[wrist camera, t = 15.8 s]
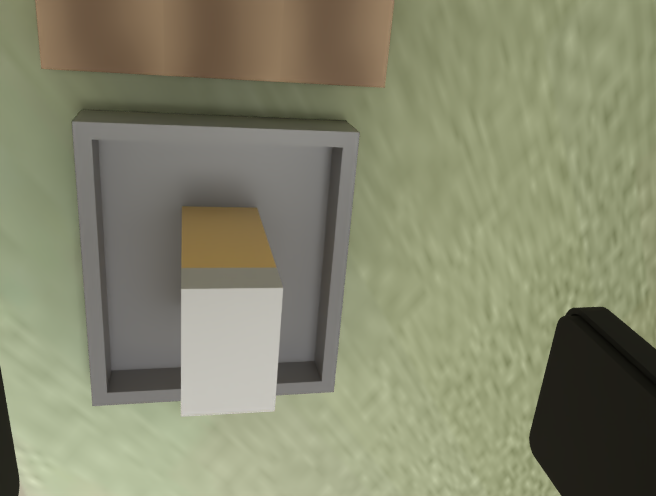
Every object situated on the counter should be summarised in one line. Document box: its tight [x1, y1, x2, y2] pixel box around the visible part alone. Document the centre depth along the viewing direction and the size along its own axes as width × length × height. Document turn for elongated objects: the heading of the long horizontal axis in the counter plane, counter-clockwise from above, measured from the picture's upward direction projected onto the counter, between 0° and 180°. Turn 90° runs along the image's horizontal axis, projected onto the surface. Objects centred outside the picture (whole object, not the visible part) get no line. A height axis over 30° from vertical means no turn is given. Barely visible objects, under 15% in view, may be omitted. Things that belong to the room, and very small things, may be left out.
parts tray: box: [72, 110, 360, 406], centre depth 34 cm, size 14×16×3 cm
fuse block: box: [181, 206, 283, 416], centre depth 30 cm, size 4×6×10 cm, turn 175°
